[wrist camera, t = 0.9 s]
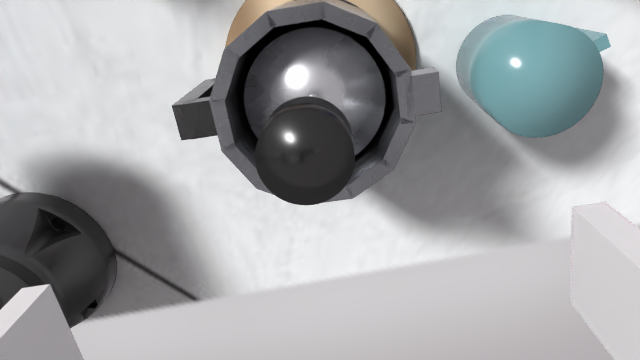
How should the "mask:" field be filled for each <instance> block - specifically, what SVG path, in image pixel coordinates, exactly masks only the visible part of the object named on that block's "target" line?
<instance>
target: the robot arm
mask: <svg viewBox="0 0 640 360" xmlns="http://www.w3.org/2000/svg"><path fill="white" fill-rule="evenodd" d="M116 270H117V266H116V258H115V254H114V250H113V248H112V245H111V243H110V241H109V239H108V237H107V236H106V234H105V233H104V231H103V230H102V228H101V227H100V226H99V225H98V224H97V223H96V222H95V221H94V220H93V219H92V218H91V217H90V216H89V215H88V214H87V213H85V212H84V211H83V210H81V209H80V208H78V207H76V206H75V205H73V204H71V203H69V202H67V201H65V200H63V199H60V198H57V197H54V196H51V195H47V194H41V193H17V194H12V195H8V196H5V197H3V198H0V360H84V359H83V357H82V355H81V352H80V350H79V348H78V346H77V344H76V341H75V339H74V337H73V335H72V332H71V330H70V328H72V327H73V326H75V325H77V324H78V323H80V322H82V321H83V320H85V319H87V318H88V317H89V316H91V315H92V314H93V313H94V312H95V311H96V310H97V309H98V308H99V307H100V305H101V304H102V303H103V301H104V300H105V299H106V297H107V296H108V294H109V293H110V291H111V289H112V287H113V285H114V282H115V278H116ZM570 291H571V292H570V296H571V297H570V303H571V304H572V305H573V307H574V308H575V309H576V310H577V312H578V313H579V314H580V316H581V317H582V318H583V320H584V321H585V322H586V324H587V325H588V326H589V327H590V329H591V330H592V331H593V333H594V334H595V335H596V337H597V338H598V339H599V340H600V342H601V343H602V344H603V346H604V347H605V348H606V350H607V351H608V352H609V354H610V355H611V356H612V357H613V359H614V360H640V229H639V228H638V227H637V226H635V225H634V224H633V223H632V222H630V221H629V220H628V219H626V218H625V217H624V216H623V215H621V214H620V213H619V212H618V211H616V210H615V209H614V208H612V207H611V206H610V205H609V204H607V203H606V202H600V203H594V204H587V205H580V206H573V207H572V234H571V290H570Z"/></svg>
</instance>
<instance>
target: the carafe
mask: <svg viewBox="0 0 640 360" xmlns="http://www.w3.org/2000/svg"><path fill="white" fill-rule="evenodd" d="M306 27H323V28H329V29H333V30H336V31H339V32H342V33H344V34H346V35H348V36H350V37H351V38H353V39H354V40H356V41H357V42H358V43H359V44H361V45H362V46H363V47H364V48H365V49H366V50H367V51H368V53H369V54H370V55H371V57H372V58H373V60H374V61H375V63H376V65H377V67H378V69H379V71H380V73H381V76H382V79H383V83H384V89H385V109H384V114H383V118H382V121H381V124H380V126H379V128H378V130H377V132H376V134H375V135H374V137H373V138H372V140H371V141H370V142H369V143H368V145H367V146H366V147H365V148H364V149H363V150H361V151H360V152H359V153H358V154H356V155H355V164H354V169H353V173H352V176H351V178H350V180H349V182H348V183H347V185H346V186H345V187H344V189H343V190H342V191H341V192H340V193H338V194H337V195H336V196H334V197H333V198H331V199H329V200H327V201H325V202H331V201H338V200H345V199H353V198H354V197H356V196H357V195H359V194H360V193H361V192H363V191H364V190H366V189H367V188H368V187H370V186H371V185H373V184H374V183H375V182H377V181H378V180H380V179H381V178H382V177H384V176H385V175H386V174H388V173H389V172H391V171H392V170H393V169H394V168H395V166H396V164H397V162H398V160H399V157H400V155H401V153H402V151H403V149H404V147H405V145H406V142H407V140H408V138H409V136H410V134H411V132H412V130H413V128H414V125H415V123H416V118H415V116H416V115H423V114H430V113H436V112H441V101H440V87H439V73H438V71H437V70H436V69H435V68H434V67H432V68H425V69H419V70H413V71H411V68H410V67H409V65H408V64H407V63H406V61H405V60H404V59H403V57H402V56H401V55H400V53H399V52H398V50H397V49H396V48H395V46H394V45H393V44H392V42H391V41H390V40H389V38H388V37H387V36H386V34H385V33H384V32H383V30H382V29H381V27H380V26H379V25H378V23H377V22H376V21H375V20H373V19H372V18H371V17H370V16H369V15H368V14H367V13H366V12H365V11H364V10H363V9H361V8H359V7H358V6H356V5H355V4H353V3H351V2H349V1H347V0H293V1H289V2H286V3H284V4H282V5H280V6H277V7H275V8H273V9H271V10H268V11H266V12H265V13H264V14H263V15H262V16H260V17H259V18H258V19H257V20H256V21H255V22H254V23H253V24H252V25H250V26H249V27H248V28H247V29H246V30H245V31H244V32H243V33H241V34H240V35H239V36H238V37H237V38H236V39H235V40H234V41H233V42H231V43H230V44H229V45H228V46H227V47H226V48H225V49H224V52H223V55H222V59H221V62H220V65H219V69H218V72H217V75H216V78H214V79H209V80H205V81H203V82H202V83H201V84H200V85H198V86H197V87H196V88H194V89H193V90H192V91H190V92H189V93H188V94H187V95H185V96H184V97H183V98H181V99H180V100H179V101H177V102H176V103H175V104H173V105H172V108H173V112H174V115H175V119H176V122H177V126H178V130H179V133H180V137H181V140H187V139H196V138H203V137H209V136H216V135H218V138H219V142H220V146H221V150H222V152H223V153H224V154H225V155H226V156H227V157H228V158H229V160H230V161H231V162H232V163H233V164H234V165H235V166H236V167H237V168H238V169H239V170H240V171H241V172H242V174H243V175H244V176H245V177H246V178H247V179H248V180H249V181H250V182H251V183H252V184H253V185H254V186H255V188H257V189H259V190H262V191H265V192H268V193H271V194H273V193H272V192H271V191H269V190H268V189H267V187H266V186H265V185H264V184H263V182H262V180H261V179H260V177H259V175H258V172H257V169H256V164H255V149H256V145H257V142H258V138H257V137H256V135H255V134H254V132H253V130H252V128H251V126H250V124H249V122H248V118H247V115H246V111H245V105H244V90H245V83H246V79H247V76H248V73H249V71H250V68H251V66H252V64H253V63H254V61H255V59H256V58H257V56H258V55H259V54H260V53H261V51H262V50H263V49H264V48H265V47H266V46H267V45H268V44H269V43H271V42H272V41H273V40H275V39H276V38H278V37H279V36H281V35H283V34H285V33H287V32H290V31H292V30H296V29H300V28H306ZM273 195H274V194H273ZM322 203H323V202H322Z"/></svg>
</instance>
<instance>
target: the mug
mask: <svg viewBox="0 0 640 360" xmlns="http://www.w3.org/2000/svg"><path fill="white" fill-rule="evenodd" d="M609 47H611V46H610V43H609V40H608V37H607V34H604V33H599V32H594V31H589V30H584V29H579V28H573V27H571V26H567V25H562V24H557V23H552V22H547V21H541V20H536V19H531V18H526V17H521V16H515V15H502V16H496V17H493V18H490V19H488V20H486V21H484V22H482V23H481V24H479V25H478V26H477V27H475V28H474V29H473V30H472V31H471V32H470V33H469V34H468V36H467V37H466V38H465V40H464V42H463V43H462V45H461V47H460V50H459V53H458V56H457V61H456V72H457V78H458V81H459V84H460V86H461V87H462V89H463V91H464V92H465V93H466V94H467V95H468V96H469V97H470V98H471V99H472V100H473V101H474V102H475V103H477V104H478V105H479V106H480V107H481V108H482V109H484V110H485V111H486V112H487V113H488V114H489V115H491V116H492V117H493V118H494V119H495V120H496V121H497V122H499V123H500V124H501V125H502V126H503V127H505V128H506V129H507V130H509V131H511V132H513V133H515V134H518V135H520V136H525V137H533V138H537V137H547V136H551V135H555V134H558V133H560V132H562V131H564V130H566V129H568V128H570V127H571V126H573V125H574V124H576V123H577V122H578V121H579V120H580V119H582V118H583V117H584V116H585V115H586V113H587V112H588V111H589V110H590V108H591V107H592V106H593V104H594V102H595V101H596V99H597V96H598V94H599V92H600V89H601V85H602V80H603V63H602V59H601V55H600V53H599V52H601V51H603V50H605V49H607V48H609Z"/></svg>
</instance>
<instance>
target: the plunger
mask: <svg viewBox="0 0 640 360" xmlns="http://www.w3.org/2000/svg"><path fill="white" fill-rule="evenodd" d="M244 105H245V111H246V115H247V118H248V122H249V124H250V126H251V128H252V130H253V132H254V134H255V135H256V137H257V138H258V142H257V145H256V149H255V164H256V169H257V172H258V175H259V177H260V179H261V180H262V182H263V184H264V185H265V186H266V187H267V189H268V190H269V191H271V192H272V193H273V194H274V195H276V196H277V197H279V198H280V199H282V200H284V201H287V202H290V203H293V204H298V205H314V204H319V203H322V202H325V201H327V200H329V199H331V198H333V197H334V196H336V195H337V194H338V193H340V192H341V191H342V190H343V189H344V187H345V186H346V185H347V183H348V182H349V180H350V178H351V176H352V173H353V169H354V164H355V155H356V154H358V153H359V152H360V151H361V150H363V149H364V148H365V147H366V146H367V145H368V143H369V142H370V141H371V140H372V138H373V137H374V135H375V134H376V132H377V130H378V128H379V126H380V124H381V121H382V118H383V114H384V109H385V89H384V83H383V79H382V76H381V73H380V71H379V69H378V67H377V65H376V63H375V61H374V60H373V58H372V57H371V55H370V54H369V53H368V51H367V50H366V49H365V48H364V47H363V46H362V45H361V44H359V43H358V42H357V41H356V40H354V39H353V38H351V37H350V36H348V35H346V34H344V33H342V32H339V31H336V30H333V29H329V28H323V27H306V28H300V29H296V30H292V31H290V32H287V33H285V34H283V35H281V36H279V37H278V38H276V39H275V40H273V41H272V42H271V43H269V44H268V45H267V46H266V47H265V48H264V49H263V50H262V51H261V53H260V54H259V55H258V56H257V58H256V59H255V61H254V63H253V64H252V66H251V68H250V71H249V73H248V76H247V79H246V83H245V90H244Z"/></svg>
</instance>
